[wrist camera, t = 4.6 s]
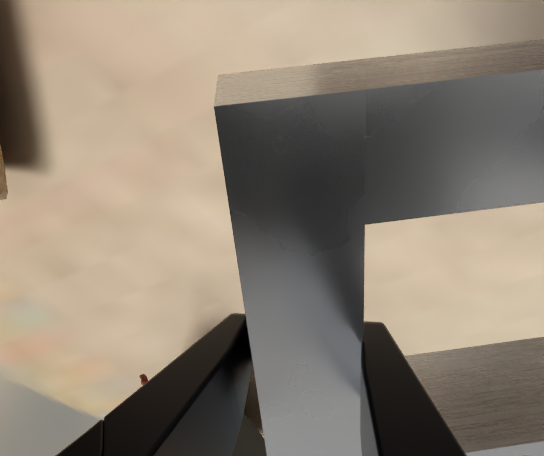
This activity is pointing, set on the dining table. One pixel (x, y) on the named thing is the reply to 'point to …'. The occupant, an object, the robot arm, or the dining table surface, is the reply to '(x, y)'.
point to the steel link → (367, 210)
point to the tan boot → (2, 178)
